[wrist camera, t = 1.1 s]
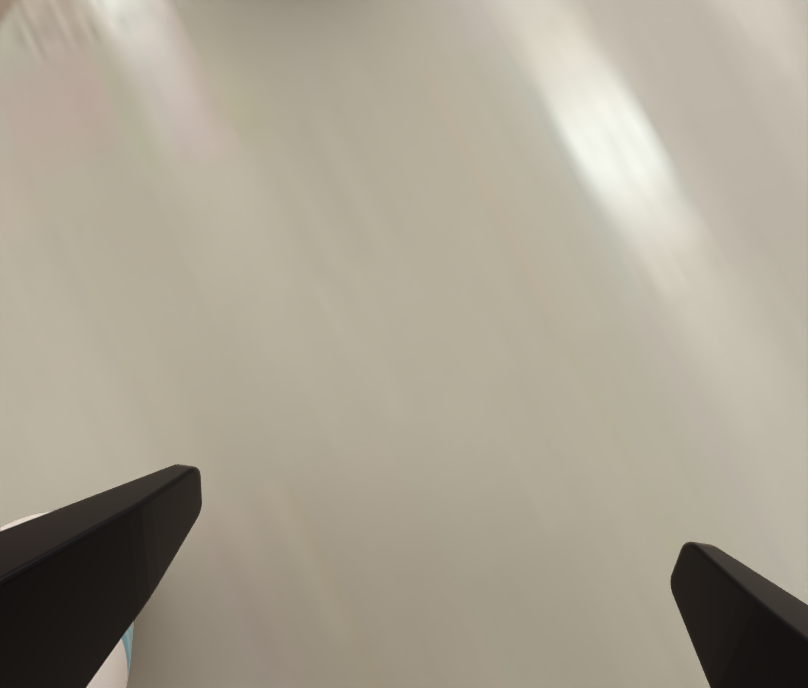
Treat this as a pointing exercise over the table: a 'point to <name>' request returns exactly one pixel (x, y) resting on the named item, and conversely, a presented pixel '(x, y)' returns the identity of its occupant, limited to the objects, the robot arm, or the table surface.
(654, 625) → the table surface
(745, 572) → the robot arm
